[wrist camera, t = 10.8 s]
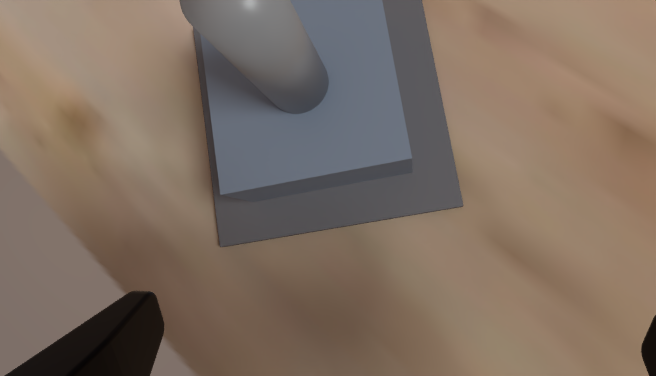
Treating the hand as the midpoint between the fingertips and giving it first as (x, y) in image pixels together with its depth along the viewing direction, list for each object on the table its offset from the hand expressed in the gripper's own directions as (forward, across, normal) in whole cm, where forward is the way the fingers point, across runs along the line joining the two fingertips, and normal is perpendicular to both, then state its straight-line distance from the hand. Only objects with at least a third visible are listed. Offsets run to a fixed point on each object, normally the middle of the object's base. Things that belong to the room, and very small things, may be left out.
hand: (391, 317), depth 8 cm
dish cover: (+15, +3, +1) cm, 15 cm away
